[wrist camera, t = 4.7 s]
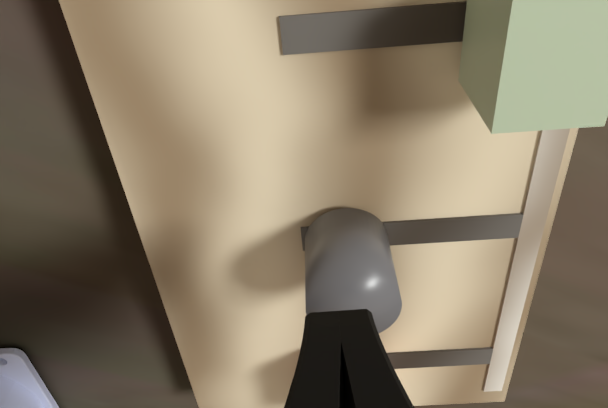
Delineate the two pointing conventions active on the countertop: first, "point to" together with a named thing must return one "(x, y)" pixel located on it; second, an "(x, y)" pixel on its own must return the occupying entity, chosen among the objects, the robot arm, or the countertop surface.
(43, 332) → the countertop surface
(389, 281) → the charcoal knob
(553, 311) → the countertop surface
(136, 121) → the control board
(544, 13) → the matte mint cube
